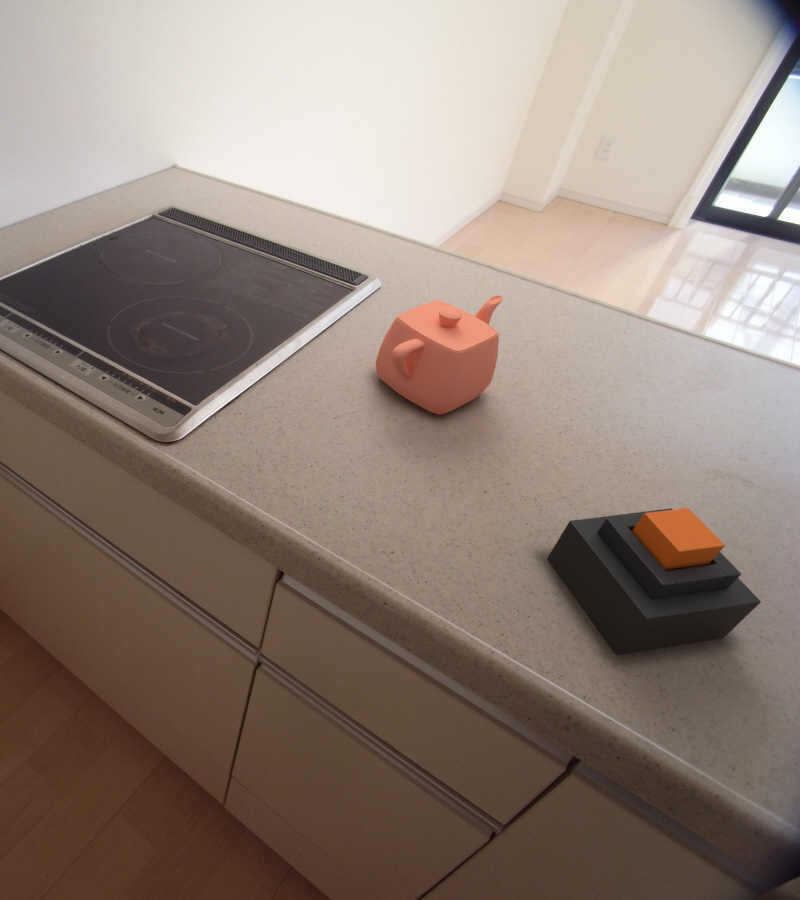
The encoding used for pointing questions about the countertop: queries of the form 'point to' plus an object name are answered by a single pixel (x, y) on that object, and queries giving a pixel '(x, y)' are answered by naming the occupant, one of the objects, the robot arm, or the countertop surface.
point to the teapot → (440, 355)
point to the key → (677, 538)
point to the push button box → (646, 588)
